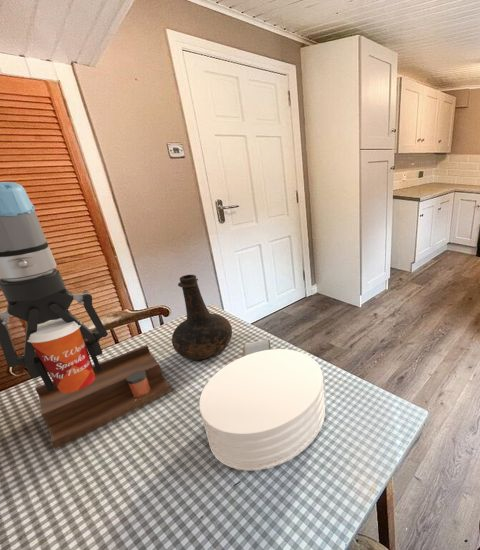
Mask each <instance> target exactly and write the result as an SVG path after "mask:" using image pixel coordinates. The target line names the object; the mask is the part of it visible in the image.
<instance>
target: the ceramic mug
mask: <svg viewBox="0 0 480 550" xmlns="http://www.w3.org/2000/svg"><path fill="white" fill-rule="evenodd" d="M265 350H272V347H271V341H270V339H269V338H265V339H262V340H257V341H254V342H253V341H252V342H249V343H246V344H244V345H243V346H242V357H244V356H246V355H249V354H252V353H255V352H260V351H265Z"/></svg>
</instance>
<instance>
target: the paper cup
mask: <svg viewBox="0 0 480 550" xmlns="http://www.w3.org/2000/svg"><path fill="white" fill-rule="evenodd" d="M77 320H78V321H80V322H81V324H82V323H83V322H82V321H81V320H79V319H78V318H77ZM80 327H81V325H78V324H77V323H76V322H75V321H73V322H70V323H67V322H65V321H64V320H63V319H61V318H60V319H56V320H49V321H47V322H45V323H42V324H38V326H37V332H35V333H33V334H31V335H30V337H29V340H28V341H27V342H31V344H32V345H33V347H34V349H35V353H36V355H37V357H38V356H39V358H40V360H41V361H42V363H43V365H44V366H45V368H46V371H47V373H48V375H49V377H50V379H51V381H54V383H55V385H56V386H57V388H58V389H59V391H60V392H62V393H71V392H75V391H78V390H81V389H83V388H85V387H87V386H88V385H90V384H91V383H92V382H93V381H94V380H95V374H94V371H93V367H92V366H93V364H92V359H91V356H90V353H89V351H88V348H87V346H86V343H85V341H86V340H85V338H84V337H83V336H82V335H81V332H80V329H79V328H80Z"/></svg>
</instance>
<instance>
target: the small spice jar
mask: <svg viewBox="0 0 480 550" xmlns="http://www.w3.org/2000/svg"><path fill="white" fill-rule="evenodd" d="M126 380H127V382H128V384H129V386H130V389H131V392H132V394H133V396H134V397H140V396H143V395H145V394H147V393H148V392H149V391H150V389H151V388H150V385H149V382H148V379H147V375H146V372H145V371H136V372H133V373H131V374H130V375H129V376H128V377H127V378H126Z"/></svg>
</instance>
